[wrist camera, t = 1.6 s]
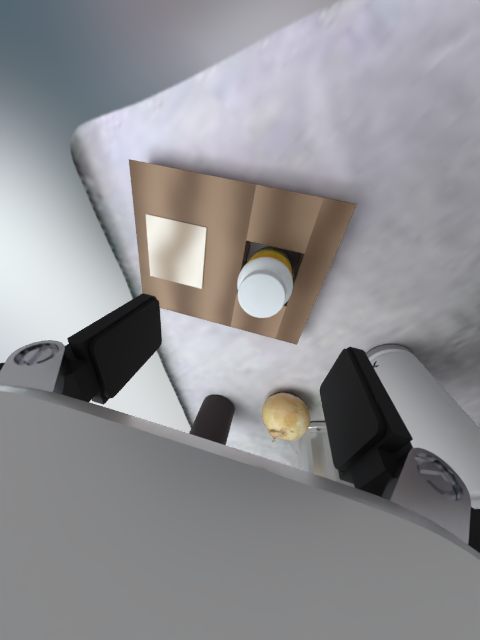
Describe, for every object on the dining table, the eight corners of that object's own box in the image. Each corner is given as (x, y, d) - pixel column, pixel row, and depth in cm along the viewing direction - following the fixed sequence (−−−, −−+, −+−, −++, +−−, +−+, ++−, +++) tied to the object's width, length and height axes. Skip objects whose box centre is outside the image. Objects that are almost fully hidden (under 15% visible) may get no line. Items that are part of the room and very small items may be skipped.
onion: (290, 379, 32) (290, 418, 26) (317, 407, 34) (324, 448, 28) (255, 395, 36) (249, 432, 30) (281, 419, 38) (280, 458, 32)
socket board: (347, 205, 19) (357, 204, 16) (295, 332, 27) (296, 345, 25) (147, 165, 21) (127, 158, 18) (156, 295, 29) (142, 303, 27)
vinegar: (239, 415, 40) (204, 566, 23) (211, 416, 42) (160, 553, 25) (227, 393, 37) (178, 545, 20) (198, 395, 39) (132, 533, 22)
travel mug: (351, 354, 27) (458, 588, 10) (404, 336, 24) (677, 621, 7) (367, 383, 29) (480, 621, 12) (418, 369, 26) (662, 658, 9)
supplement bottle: (290, 289, 25) (292, 327, 16) (249, 288, 26) (232, 324, 18) (292, 245, 22) (296, 264, 14) (247, 247, 23) (226, 265, 15)
